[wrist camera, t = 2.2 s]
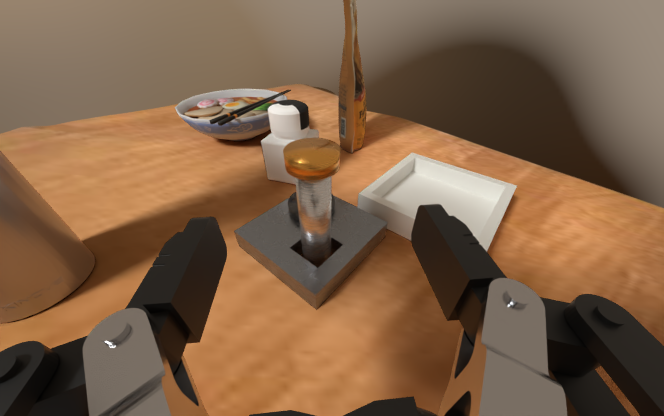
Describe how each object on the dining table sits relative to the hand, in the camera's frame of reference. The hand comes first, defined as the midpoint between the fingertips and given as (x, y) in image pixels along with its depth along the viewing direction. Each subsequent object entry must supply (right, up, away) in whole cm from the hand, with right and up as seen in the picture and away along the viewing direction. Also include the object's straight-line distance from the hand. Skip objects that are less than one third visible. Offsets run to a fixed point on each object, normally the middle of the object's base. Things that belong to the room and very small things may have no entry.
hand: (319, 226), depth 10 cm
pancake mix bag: (+5, +17, +47) cm, 50 cm away
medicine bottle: (-6, +7, +34) cm, 36 cm away
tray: (+15, +1, +26) cm, 30 cm away
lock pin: (-1, -5, +19) cm, 20 cm away
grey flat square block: (-2, -3, +21) cm, 22 cm away
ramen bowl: (-20, +18, +48) cm, 55 cm away
